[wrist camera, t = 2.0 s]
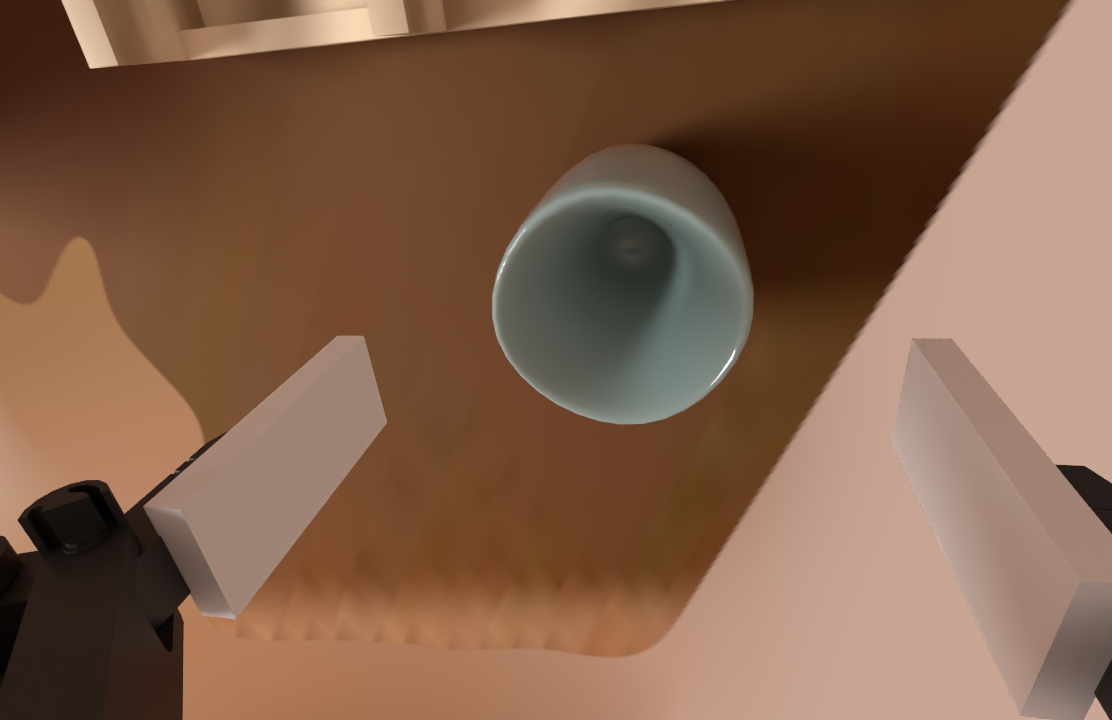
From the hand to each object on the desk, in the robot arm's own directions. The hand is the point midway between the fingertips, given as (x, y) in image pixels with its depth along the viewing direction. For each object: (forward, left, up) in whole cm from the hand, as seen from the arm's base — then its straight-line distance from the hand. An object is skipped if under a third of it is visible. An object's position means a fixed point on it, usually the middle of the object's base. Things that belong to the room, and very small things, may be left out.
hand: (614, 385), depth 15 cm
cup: (0, 0, -14) cm, 14 cm away
